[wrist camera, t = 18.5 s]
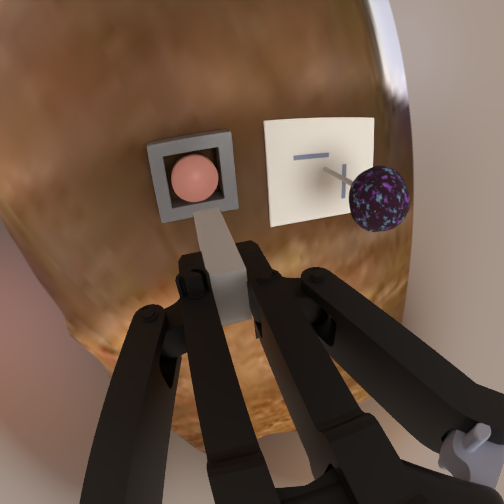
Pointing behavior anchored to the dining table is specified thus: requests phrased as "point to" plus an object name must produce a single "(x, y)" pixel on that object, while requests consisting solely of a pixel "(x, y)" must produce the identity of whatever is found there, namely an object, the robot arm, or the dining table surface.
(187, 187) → the button
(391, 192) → the lollipop
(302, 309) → the robot arm
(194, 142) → the button housing
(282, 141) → the paper pad
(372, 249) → the dining table surface
